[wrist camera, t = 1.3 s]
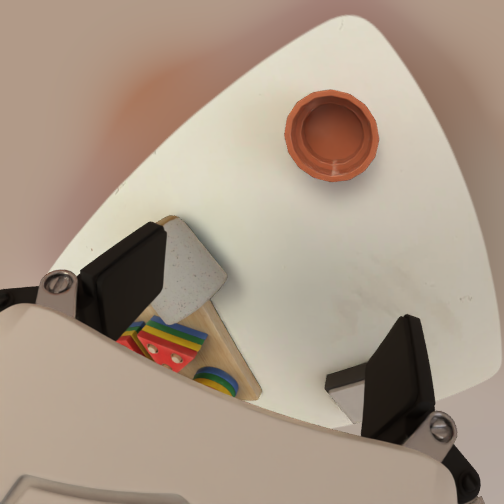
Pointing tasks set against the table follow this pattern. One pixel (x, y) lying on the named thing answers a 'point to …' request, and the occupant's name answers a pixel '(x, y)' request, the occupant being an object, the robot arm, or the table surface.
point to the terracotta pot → (331, 135)
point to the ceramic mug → (185, 273)
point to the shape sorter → (194, 350)
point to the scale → (348, 391)
